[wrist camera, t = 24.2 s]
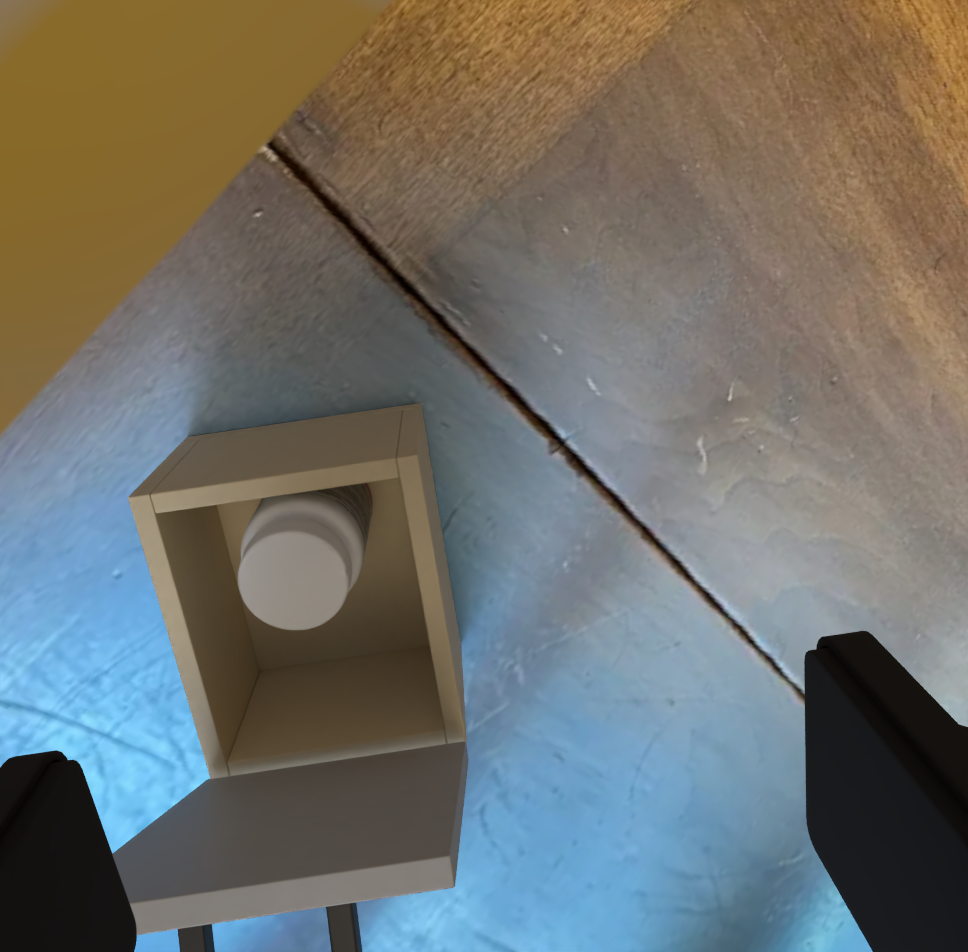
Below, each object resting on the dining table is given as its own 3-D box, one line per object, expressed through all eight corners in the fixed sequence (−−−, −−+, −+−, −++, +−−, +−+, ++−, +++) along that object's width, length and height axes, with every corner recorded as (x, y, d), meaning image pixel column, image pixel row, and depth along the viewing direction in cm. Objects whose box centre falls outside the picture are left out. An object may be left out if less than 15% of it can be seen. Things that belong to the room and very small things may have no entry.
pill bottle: (312, 567, 40) (281, 663, 32) (246, 489, 38) (196, 569, 30) (395, 511, 39) (384, 595, 31) (330, 430, 38) (302, 496, 30)
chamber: (186, 436, 38) (127, 497, 31) (421, 402, 38) (417, 454, 31) (249, 677, 42) (211, 782, 35) (461, 646, 42) (466, 743, 35)
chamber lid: (28, 918, 21) (47, 1122, 21) (450, 855, 21) (478, 1057, 21) (207, 779, 34) (220, 901, 34) (465, 740, 35) (483, 862, 34)
